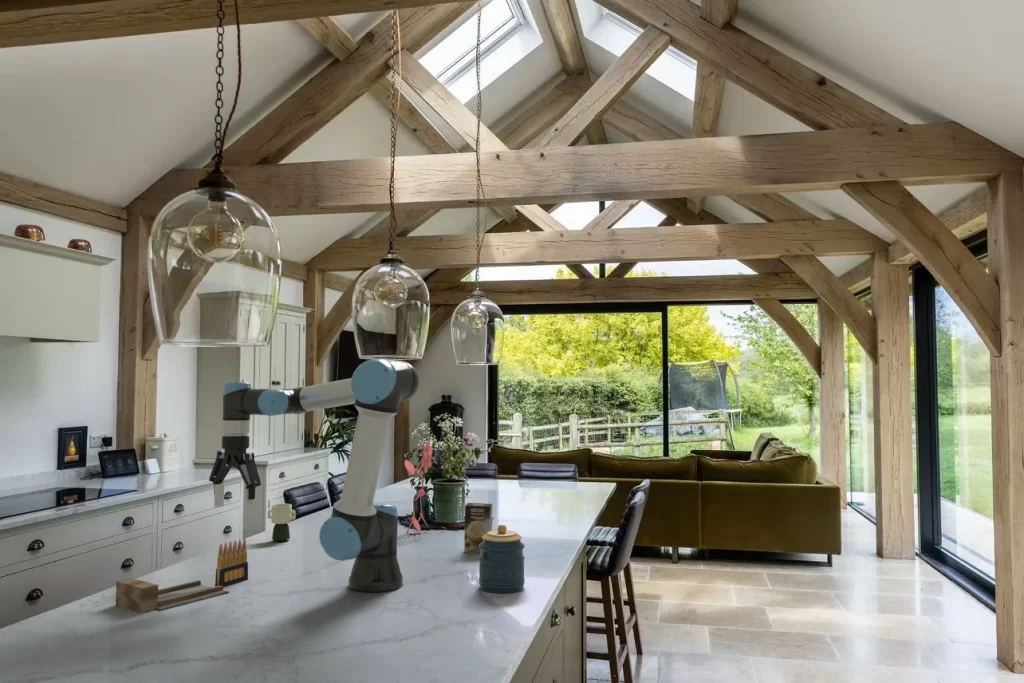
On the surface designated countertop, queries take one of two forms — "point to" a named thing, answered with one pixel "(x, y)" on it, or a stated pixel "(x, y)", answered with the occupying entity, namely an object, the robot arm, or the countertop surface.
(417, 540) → the countertop surface
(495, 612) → the countertop surface
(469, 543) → the coffee box
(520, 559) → the canister
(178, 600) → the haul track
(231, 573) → the ammunition clip
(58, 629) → the countertop surface
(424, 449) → the figurine
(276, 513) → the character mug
